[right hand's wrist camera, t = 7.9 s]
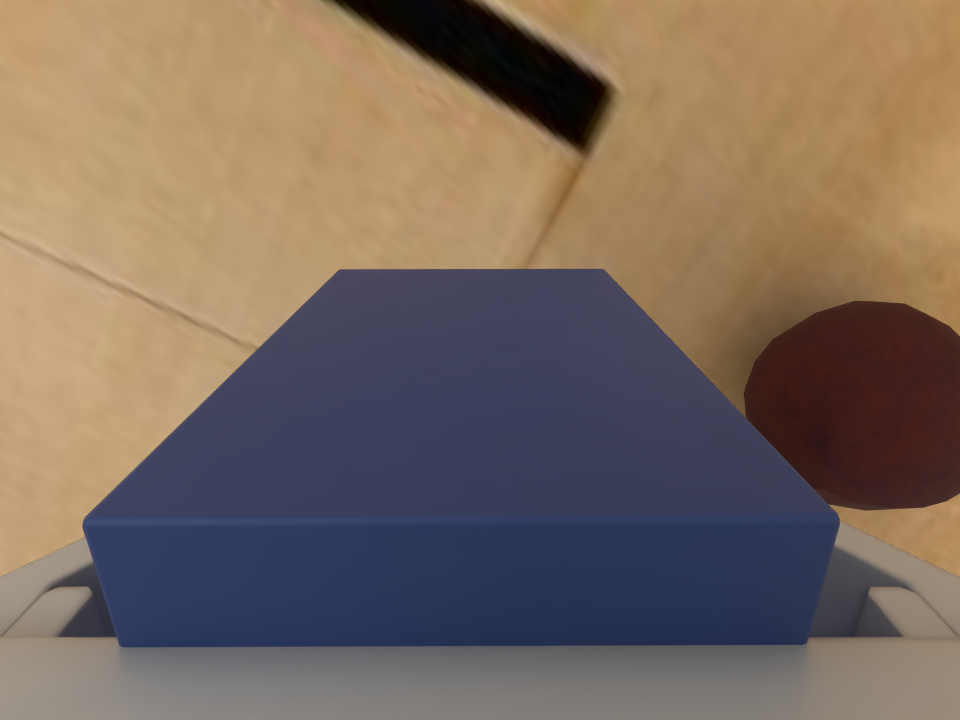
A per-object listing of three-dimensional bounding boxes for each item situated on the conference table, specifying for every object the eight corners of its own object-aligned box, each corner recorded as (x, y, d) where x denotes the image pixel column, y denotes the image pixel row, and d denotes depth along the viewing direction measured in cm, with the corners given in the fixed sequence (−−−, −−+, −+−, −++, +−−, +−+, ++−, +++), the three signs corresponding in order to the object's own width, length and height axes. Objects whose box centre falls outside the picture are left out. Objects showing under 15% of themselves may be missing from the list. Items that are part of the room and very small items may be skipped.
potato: (882, 442, 25) (1024, 552, 19) (706, 446, 25) (785, 556, 19) (927, 279, 22) (1111, 339, 16) (729, 283, 22) (832, 344, 16)
